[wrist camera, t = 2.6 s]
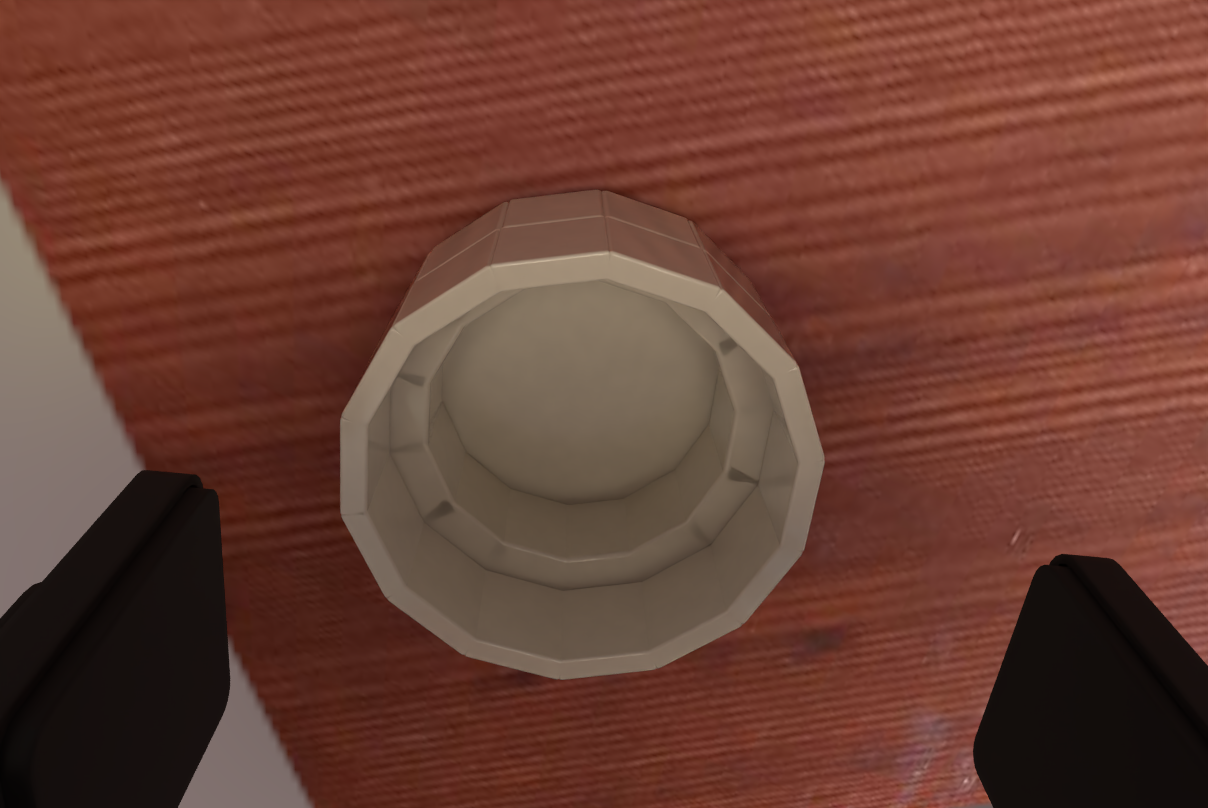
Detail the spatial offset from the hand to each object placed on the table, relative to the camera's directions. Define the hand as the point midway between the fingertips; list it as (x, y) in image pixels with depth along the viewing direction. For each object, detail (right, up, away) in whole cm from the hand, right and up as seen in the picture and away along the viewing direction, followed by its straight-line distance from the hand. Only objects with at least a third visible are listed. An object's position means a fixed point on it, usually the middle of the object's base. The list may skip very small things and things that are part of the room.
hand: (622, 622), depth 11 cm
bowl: (-1, +3, +7) cm, 8 cm away
